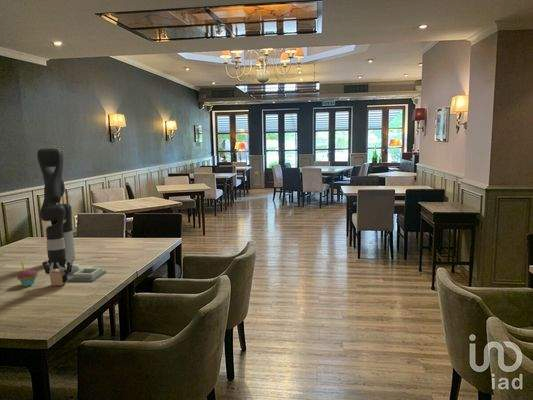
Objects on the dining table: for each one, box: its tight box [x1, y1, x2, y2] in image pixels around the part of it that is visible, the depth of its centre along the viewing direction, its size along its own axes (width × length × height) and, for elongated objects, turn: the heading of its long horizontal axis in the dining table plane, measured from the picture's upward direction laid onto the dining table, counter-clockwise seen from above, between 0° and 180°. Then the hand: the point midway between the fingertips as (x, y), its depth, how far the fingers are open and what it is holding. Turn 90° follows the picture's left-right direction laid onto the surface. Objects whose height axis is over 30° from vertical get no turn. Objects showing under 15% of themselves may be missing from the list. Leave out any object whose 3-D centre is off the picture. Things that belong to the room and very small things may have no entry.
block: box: [49, 269, 67, 286], centre depth 190 cm, size 5×5×6 cm
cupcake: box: [16, 261, 39, 287], centre depth 191 cm, size 9×8×12 cm
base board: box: [66, 263, 107, 283], centre depth 201 cm, size 18×14×5 cm
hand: (59, 282), depth 190 cm, fingers closed on block, 5 cm apart
